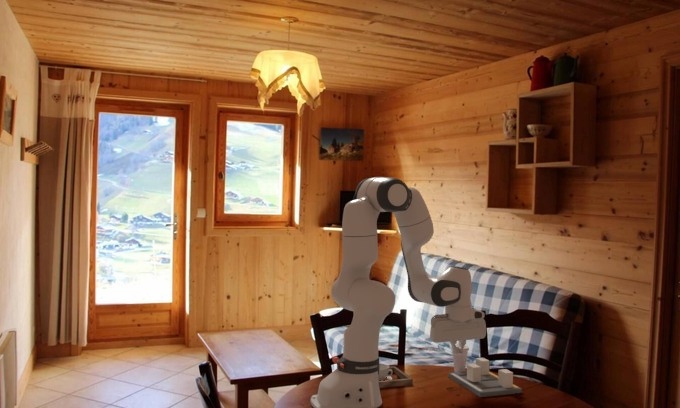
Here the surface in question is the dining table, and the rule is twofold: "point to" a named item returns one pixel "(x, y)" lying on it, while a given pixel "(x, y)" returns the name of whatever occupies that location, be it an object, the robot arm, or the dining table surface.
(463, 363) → the smoothie
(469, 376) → the white rectangular block
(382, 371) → the teacup
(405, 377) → the square wooden tray
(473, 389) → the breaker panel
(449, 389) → the dining table surface
